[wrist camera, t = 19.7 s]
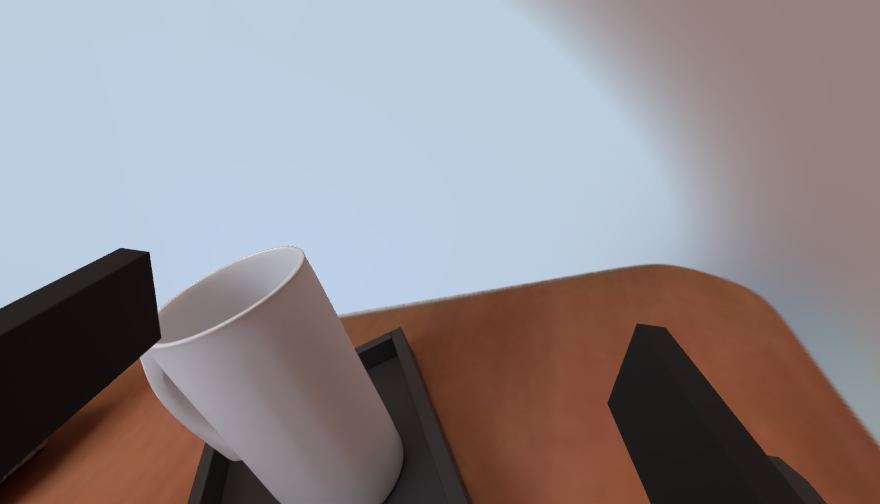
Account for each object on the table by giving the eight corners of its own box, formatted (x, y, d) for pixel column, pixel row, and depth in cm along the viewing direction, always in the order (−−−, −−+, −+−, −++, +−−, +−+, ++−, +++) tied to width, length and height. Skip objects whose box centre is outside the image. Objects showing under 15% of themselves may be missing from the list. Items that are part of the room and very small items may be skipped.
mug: (418, 411, 25) (325, 231, 19) (398, 534, 19) (258, 322, 14) (270, 438, 27) (152, 283, 22) (210, 555, 21) (30, 380, 16)
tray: (411, 349, 31) (400, 326, 30) (496, 566, 17) (480, 535, 16) (230, 437, 29) (212, 415, 28) (158, 757, 15) (118, 735, 14)
